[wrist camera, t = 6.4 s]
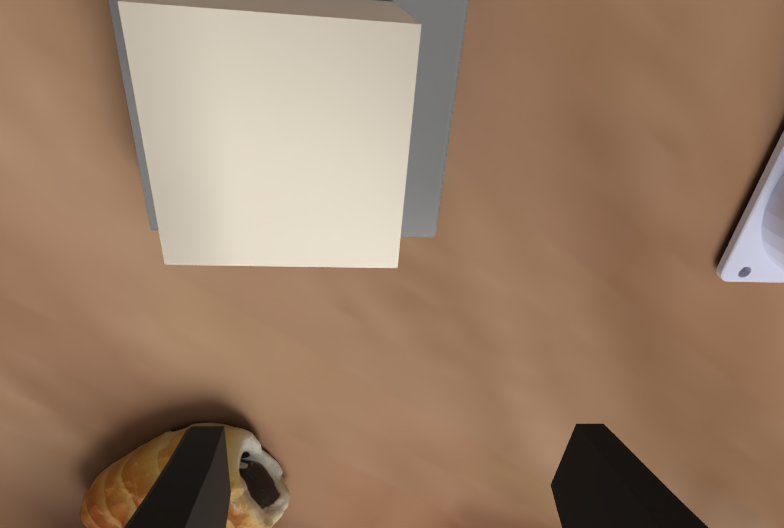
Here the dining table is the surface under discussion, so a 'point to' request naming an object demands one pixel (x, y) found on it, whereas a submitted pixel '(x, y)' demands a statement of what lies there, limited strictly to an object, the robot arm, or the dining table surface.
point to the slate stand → (429, 120)
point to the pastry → (143, 466)
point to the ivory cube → (275, 127)
